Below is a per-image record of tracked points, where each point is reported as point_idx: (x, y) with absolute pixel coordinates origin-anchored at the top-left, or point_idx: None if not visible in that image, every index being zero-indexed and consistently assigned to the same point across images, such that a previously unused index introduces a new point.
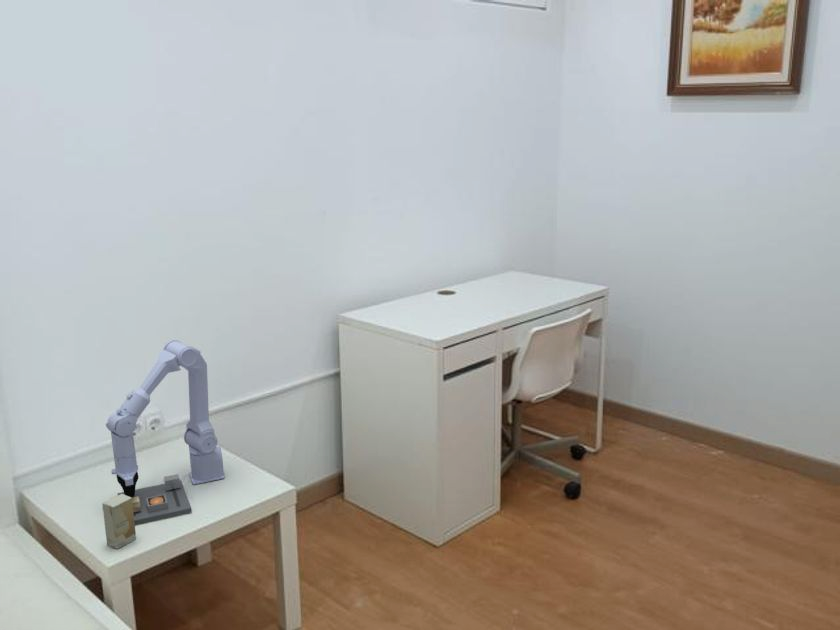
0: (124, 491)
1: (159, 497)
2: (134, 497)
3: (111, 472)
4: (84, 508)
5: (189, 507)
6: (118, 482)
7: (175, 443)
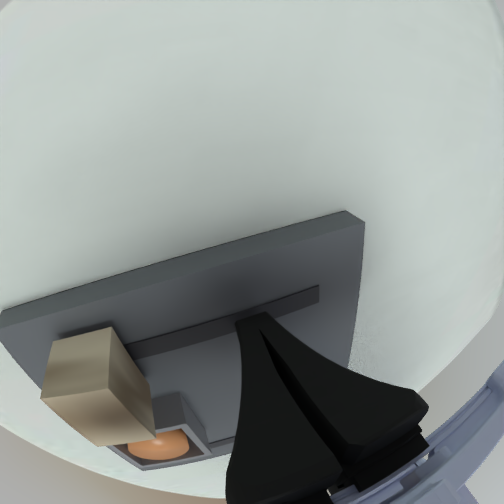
0: (243, 372)
1: (184, 451)
2: (142, 428)
3: (422, 501)
4: (285, 17)
5: (145, 469)
6: (234, 479)
7: (492, 299)
